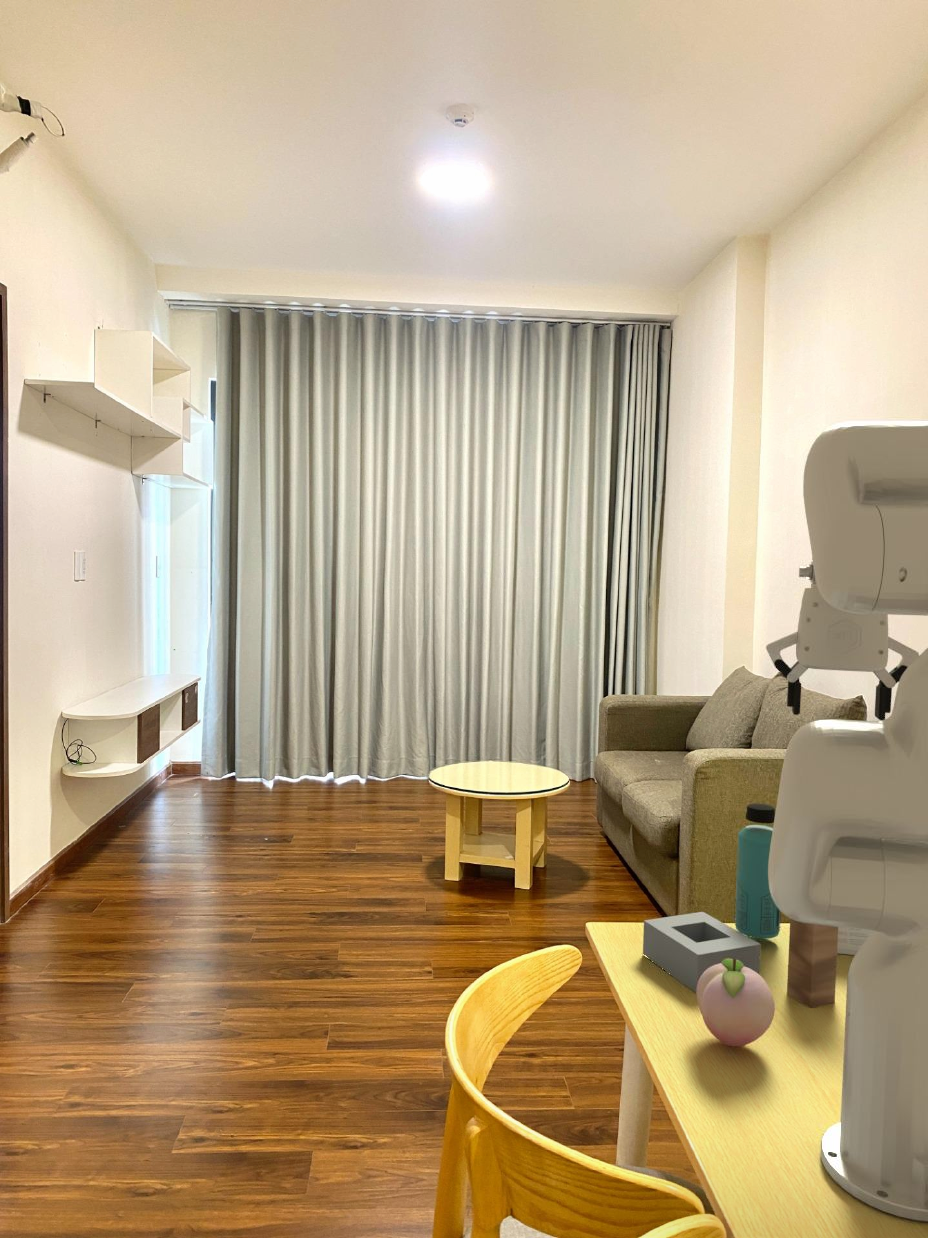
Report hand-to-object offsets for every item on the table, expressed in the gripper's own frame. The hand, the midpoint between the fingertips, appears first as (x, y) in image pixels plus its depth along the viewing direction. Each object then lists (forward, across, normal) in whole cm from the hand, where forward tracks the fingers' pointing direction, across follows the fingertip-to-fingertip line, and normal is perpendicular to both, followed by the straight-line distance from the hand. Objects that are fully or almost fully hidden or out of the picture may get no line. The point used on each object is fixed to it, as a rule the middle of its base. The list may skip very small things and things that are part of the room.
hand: (837, 715), depth 111 cm
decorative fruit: (+36, -11, -15) cm, 41 cm away
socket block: (+36, -15, +5) cm, 40 cm away
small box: (+37, +4, +19) cm, 41 cm away
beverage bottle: (+37, -7, +17) cm, 41 cm away
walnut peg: (+36, -1, 0) cm, 36 cm away
